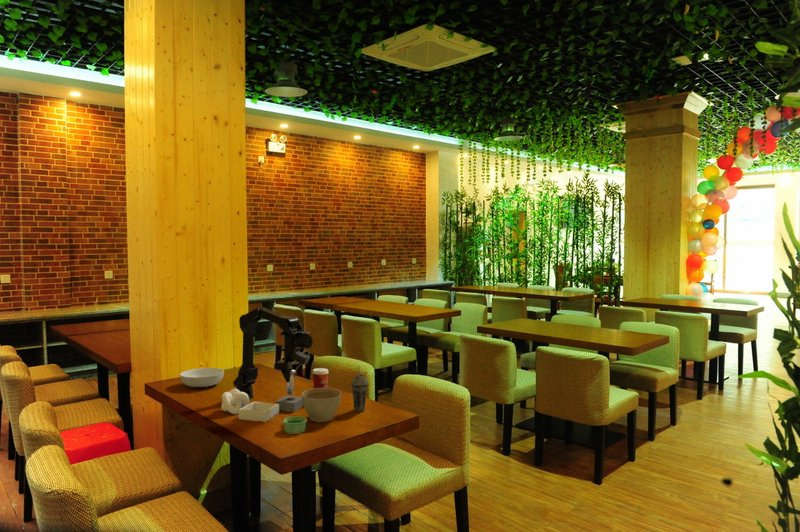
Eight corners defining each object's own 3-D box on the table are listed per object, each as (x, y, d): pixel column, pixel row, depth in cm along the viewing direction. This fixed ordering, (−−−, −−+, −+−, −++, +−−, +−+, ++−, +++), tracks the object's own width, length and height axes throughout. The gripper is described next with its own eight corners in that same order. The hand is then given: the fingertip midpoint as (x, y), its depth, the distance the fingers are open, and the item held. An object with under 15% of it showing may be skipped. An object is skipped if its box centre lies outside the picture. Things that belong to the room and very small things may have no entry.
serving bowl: (207, 378, 288) (207, 365, 287) (232, 384, 275) (232, 371, 275) (171, 386, 271) (171, 372, 271) (196, 393, 259) (196, 379, 258)
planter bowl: (293, 419, 223) (293, 393, 223) (322, 410, 236) (323, 385, 235) (319, 428, 213) (319, 401, 213) (348, 418, 225) (349, 392, 225)
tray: (238, 419, 222) (238, 409, 222) (254, 410, 234) (254, 401, 234) (264, 422, 219) (264, 412, 219) (279, 413, 231) (279, 404, 231)
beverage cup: (370, 408, 239) (370, 364, 238) (363, 413, 232) (364, 367, 231) (355, 407, 242) (355, 362, 241) (348, 411, 235) (348, 366, 234)
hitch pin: (282, 394, 236) (283, 370, 236) (287, 391, 241) (287, 368, 240) (292, 395, 235) (292, 371, 235) (297, 392, 239) (297, 369, 239)
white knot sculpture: (213, 411, 232) (213, 390, 232) (237, 405, 241) (237, 385, 241) (227, 417, 225) (227, 396, 224) (252, 410, 234) (252, 390, 233)
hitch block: (275, 410, 235) (275, 401, 235) (285, 404, 244) (285, 395, 244) (294, 412, 233) (294, 403, 232) (303, 406, 241) (303, 397, 241)
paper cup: (325, 402, 248) (325, 372, 247) (309, 400, 250) (309, 370, 249) (330, 397, 256) (331, 368, 255) (315, 396, 257) (315, 367, 257)
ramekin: (285, 436, 204) (285, 424, 204) (281, 428, 212) (281, 417, 212) (309, 433, 208) (309, 422, 208) (303, 425, 216) (303, 415, 216)
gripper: (297, 351, 226) (297, 388, 227) (316, 343, 244) (315, 377, 244) (273, 349, 229) (273, 385, 229) (293, 342, 247) (293, 375, 247)
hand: (290, 381), depth 238 cm, fingers closed on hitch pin, 4 cm apart
